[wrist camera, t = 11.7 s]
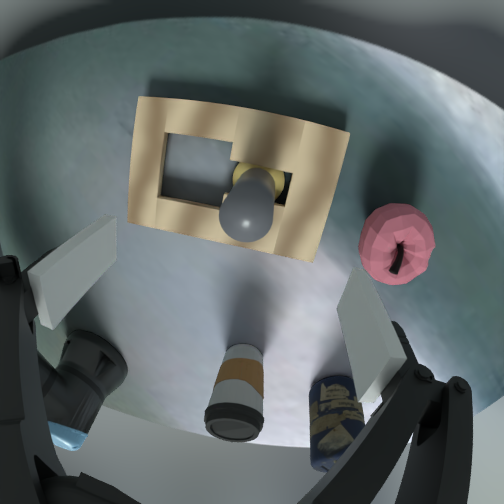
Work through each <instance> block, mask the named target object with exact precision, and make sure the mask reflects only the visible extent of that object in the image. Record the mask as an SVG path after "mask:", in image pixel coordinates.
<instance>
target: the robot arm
mask: <svg viewBox="0 0 504 504" xmlns="http://www.w3.org/2000/svg"><path fill="white" fill-rule="evenodd" d="M116 260H117V246H116V216H111V215H106V214H105V215H103V216H102V217H100V218H99V219H97V220H96V221H94V222H93V223H92V224H90V225H89V226H87V227H86V228H84V229H83V230H81V231H80V232H79V233H77V234H76V235H74V236H73V237H72V238H70V239H69V240H67V241H66V242H65V243H63V244H62V245H61V246H59V247H58V248H55V249H52V250H50V251H48V252H46V253H45V254H44V255H42V257H40V258H39V259H37V260H36V261H35V262H33V263H32V264H31V265H30V266H28V267H27V268H26V269H25V270H23V271H22V272H21V270H20V266H19V261H18V258H17V257H16V256H13V255H6V256H2V257H0V504H141V503H139V502H137V501H136V500H134V499H132V498H131V497H129V496H128V495H126V494H124V493H123V492H121V491H120V490H118V489H117V488H115V487H114V486H112V485H109V484H107V483H105V482H102V481H100V480H97V479H95V478H93V477H91V476H89V475H86V474H84V473H82V472H81V473H80V476H79V477H76V476H67V475H66V473H65V471H64V469H63V467H62V465H61V463H60V461H59V459H58V457H57V455H56V452H55V448H54V445H57V446H59V447H61V448H64V449H67V450H72V451H73V450H78V449H79V448H80V447H81V445H82V444H83V442H84V440H85V438H86V437H87V436H88V432H89V430H90V428H91V426H92V424H93V422H94V420H95V418H96V416H97V414H98V412H99V410H100V408H101V406H102V404H103V402H104V400H105V398H106V397H107V396H108V395H110V394H111V393H112V392H113V391H114V390H115V389H117V388H118V387H119V386H120V385H121V384H122V383H123V381H124V379H125V378H126V376H127V366H126V363H125V361H124V360H123V358H122V357H121V355H120V354H119V353H118V352H117V351H116V349H115V348H113V347H112V346H111V345H110V344H109V343H108V342H106V341H105V340H103V339H102V338H100V337H99V336H97V335H95V334H93V333H90V332H87V331H82V330H77V331H74V332H72V333H71V334H70V335H69V337H68V338H67V339H66V341H65V343H64V347H63V350H62V354H61V358H60V361H59V364H58V366H57V367H56V369H54V367H53V366H52V365H51V364H50V363H49V362H48V361H47V360H46V359H45V358H44V357H43V356H42V355H41V353H40V352H39V351H38V350H37V344H36V325H35V322H34V318H35V317H36V316H37V315H39V319H40V322H41V324H42V325H44V326H46V327H48V328H50V329H52V330H54V328H55V327H56V326H57V325H58V324H59V323H60V321H61V320H62V319H63V318H64V317H65V316H66V314H67V313H68V312H69V311H70V310H71V309H72V308H73V306H74V305H75V304H76V303H77V302H78V301H79V300H80V299H81V297H82V296H83V295H84V294H85V293H86V292H87V291H88V290H89V289H90V288H91V287H92V285H93V284H94V283H95V282H96V281H97V280H98V279H99V278H100V277H101V276H102V275H103V274H104V273H105V272H106V271H107V270H108V269H109V268H110V267H111V266H112V265H113V264H114V262H115V261H116ZM337 312H338V316H339V319H340V323H341V327H342V332H343V336H344V340H345V344H346V348H347V353H348V357H349V361H350V366H351V370H352V375H353V380H354V384H355V389H356V394H357V399H358V402H365V403H374V402H375V401H376V399H377V398H378V397H379V396H380V394H381V397H382V400H383V402H382V403H381V404H380V405H379V406H378V408H377V409H376V410H375V411H374V412H373V413H372V414H371V418H370V420H369V421H368V422H367V424H366V425H365V426H364V428H363V429H362V430H361V432H360V433H359V434H358V436H357V437H356V438H355V440H354V441H353V442H352V443H351V445H350V446H349V447H348V449H347V450H346V451H345V452H344V453H343V455H342V456H341V457H340V458H339V459H338V461H337V462H336V463H335V464H334V465H333V466H332V468H331V469H330V470H329V471H328V472H327V473H326V474H325V475H324V476H323V478H322V479H321V480H320V481H319V482H318V483H317V484H316V485H315V486H314V487H313V488H312V489H311V490H310V491H309V492H308V493H307V494H306V495H305V496H304V497H303V498H302V499H301V500H300V501H299V502H298V503H297V504H370V503H371V502H372V501H373V499H374V498H375V496H376V494H377V493H378V491H379V490H380V489H381V487H382V486H383V484H384V483H385V481H386V480H387V478H388V476H389V475H390V473H391V471H392V470H393V468H394V466H395V465H396V463H397V461H398V459H399V458H400V456H401V454H402V452H403V451H404V448H405V447H406V445H407V443H408V441H409V439H410V437H411V435H412V433H413V437H412V441H411V446H410V451H409V456H408V459H407V464H406V467H405V471H404V475H403V478H402V482H401V485H400V489H399V492H398V495H397V498H396V501H395V504H467V499H468V493H469V486H470V476H471V465H472V448H473V407H472V391H471V387H470V386H469V384H468V382H467V381H466V380H465V379H463V378H461V377H458V376H453V377H452V378H451V379H450V380H449V381H448V382H447V383H444V382H441V381H437V380H435V378H434V375H433V373H432V372H431V370H430V369H428V368H427V367H426V366H424V365H422V364H418V361H417V359H416V357H415V355H414V352H413V350H412V348H411V346H410V344H409V341H408V339H407V338H406V335H405V333H404V331H403V329H402V328H401V327H400V325H399V324H398V323H397V322H395V321H391V320H390V318H389V316H388V314H387V312H386V310H385V307H384V305H383V303H382V301H381V299H380V297H379V295H378V293H377V291H376V289H375V287H374V285H373V283H372V281H371V279H370V277H369V275H368V273H367V271H366V270H364V269H359V268H355V267H353V270H352V272H351V275H350V278H349V280H348V282H347V285H346V287H345V290H344V292H343V295H342V297H341V299H340V302H339V304H338V306H337ZM53 444H54V445H53Z"/></svg>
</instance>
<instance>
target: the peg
mask: <svg viewBox="0 0 504 504" xmlns="http://www.w3.org/2000/svg"><path fill="white" fill-rule="evenodd" d="M284 181H285V179H284V172H283V171H281V170H277V169H272V168H268V167H263V166H258V165H253V164H248V163H243V162H240V163H239V164H238V165H237V167H236V168H235V171H234V174H233V188H232V189H231V191H230V192H229V194H228V195H227V197H226V198H225V200H224V201H223V203H222V205H221V207H220V210H219V222H220V225H221V227H222V229H223V230H224V232H225V233H226V234H227V235H228V236H229V237H231V238H232V239H234V240H237V241H240V242H254V241H257V240H259V239H261V238H263V237H264V236H265V235H266V234H267V233H268V232H269V230H270V228H271V226H272V223H273V214H274V200H275V199H277V198H278V197H279V195H280V194H281V192H282V190H283V188H284Z"/></svg>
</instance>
